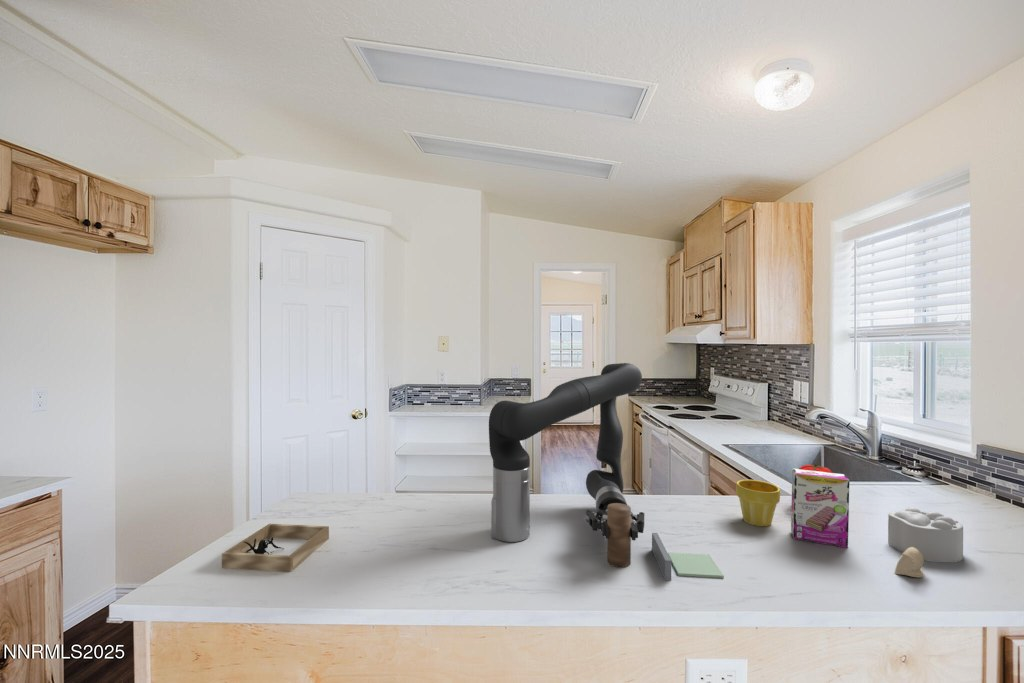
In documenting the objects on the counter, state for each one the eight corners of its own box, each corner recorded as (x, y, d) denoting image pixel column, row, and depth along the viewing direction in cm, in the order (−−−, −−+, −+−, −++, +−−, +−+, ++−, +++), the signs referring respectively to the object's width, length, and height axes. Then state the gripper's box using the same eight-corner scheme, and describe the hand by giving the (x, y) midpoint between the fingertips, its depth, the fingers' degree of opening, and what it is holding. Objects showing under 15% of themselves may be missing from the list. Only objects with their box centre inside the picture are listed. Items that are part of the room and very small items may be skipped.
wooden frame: (221, 567, 95) (221, 553, 95) (269, 535, 110) (269, 523, 110) (290, 571, 93) (290, 557, 93) (328, 538, 109) (328, 526, 109)
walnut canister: (608, 566, 95) (608, 511, 95) (606, 555, 100) (606, 502, 100) (632, 568, 95) (632, 512, 95) (628, 556, 100) (628, 503, 100)
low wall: (665, 579, 90) (665, 560, 90) (651, 549, 103) (651, 532, 103) (671, 580, 90) (671, 560, 90) (657, 550, 103) (657, 532, 103)
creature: (250, 553, 103) (236, 562, 96) (252, 529, 105) (239, 536, 97) (286, 550, 105) (276, 559, 97) (288, 526, 106) (278, 533, 99)
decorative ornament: (927, 571, 94) (927, 546, 94) (917, 584, 89) (917, 557, 89) (902, 563, 97) (902, 539, 97) (891, 575, 92) (891, 550, 92)
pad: (678, 575, 92) (678, 573, 92) (667, 554, 101) (667, 552, 101) (723, 578, 91) (723, 575, 91) (709, 556, 100) (709, 554, 100)
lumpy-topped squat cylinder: (881, 540, 108) (881, 504, 108) (937, 541, 108) (937, 506, 108) (917, 561, 98) (917, 522, 98) (979, 563, 97) (980, 523, 97)
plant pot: (788, 529, 114) (789, 491, 114) (748, 530, 114) (748, 492, 114) (765, 513, 124) (765, 479, 124) (728, 514, 124) (729, 479, 124)
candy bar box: (793, 540, 108) (793, 473, 108) (790, 532, 113) (790, 467, 113) (849, 549, 103) (850, 479, 103) (844, 540, 108) (844, 473, 108)
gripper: (582, 489, 112) (586, 516, 95) (640, 491, 111) (655, 519, 94) (582, 519, 112) (586, 551, 96) (640, 521, 111) (655, 554, 94)
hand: (620, 535), depth 95 cm, fingers closed on walnut canister, 5 cm apart
